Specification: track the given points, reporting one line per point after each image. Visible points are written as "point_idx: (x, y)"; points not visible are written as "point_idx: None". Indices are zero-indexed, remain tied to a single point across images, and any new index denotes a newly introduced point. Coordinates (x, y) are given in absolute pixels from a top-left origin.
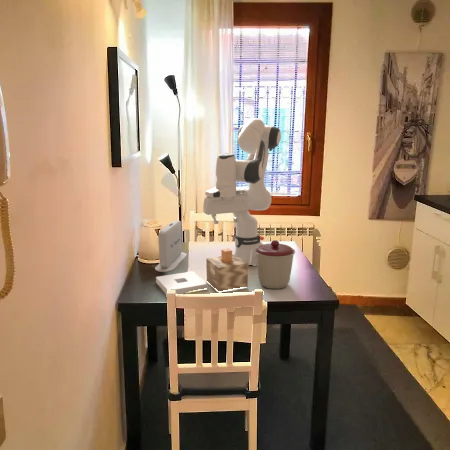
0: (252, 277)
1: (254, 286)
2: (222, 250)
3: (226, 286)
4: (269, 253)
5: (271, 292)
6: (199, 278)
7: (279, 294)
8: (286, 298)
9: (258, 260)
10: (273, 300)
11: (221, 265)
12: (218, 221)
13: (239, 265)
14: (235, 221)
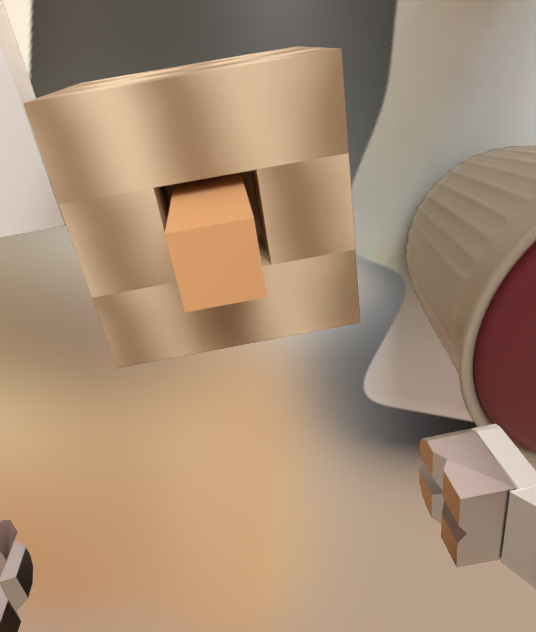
0: (426, 65)
1: (368, 225)
2: (171, 257)
3: None
4: (523, 442)
5: (412, 321)
6: (9, 104)
7: (434, 349)
8: (438, 393)
9: (449, 321)
10: (375, 400)
11: (145, 327)
12: (19, 621)
13: (287, 332)
14: (433, 500)
